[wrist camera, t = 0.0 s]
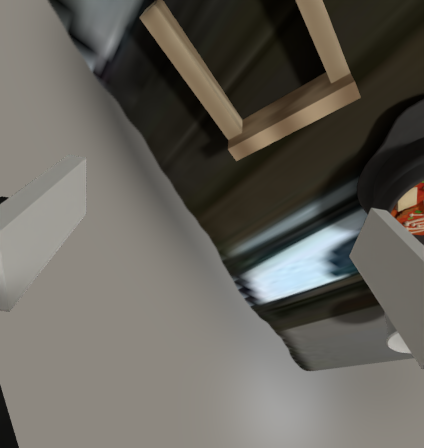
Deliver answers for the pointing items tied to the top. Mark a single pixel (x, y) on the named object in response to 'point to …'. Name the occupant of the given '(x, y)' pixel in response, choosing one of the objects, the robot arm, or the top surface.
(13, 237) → the robot arm
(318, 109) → the u rest
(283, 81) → the top surface
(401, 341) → the teacup
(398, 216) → the black brimmed hat
